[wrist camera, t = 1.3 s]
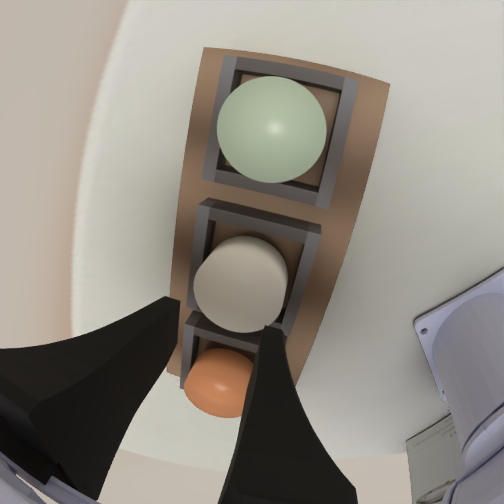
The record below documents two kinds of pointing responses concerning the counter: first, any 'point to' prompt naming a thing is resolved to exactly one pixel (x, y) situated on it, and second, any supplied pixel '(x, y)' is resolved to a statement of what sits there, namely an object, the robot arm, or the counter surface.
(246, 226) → the button board
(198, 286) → the cream button
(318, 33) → the counter surface
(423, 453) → the supplement box
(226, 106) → the sage button
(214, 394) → the terracotta button
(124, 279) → the counter surface
